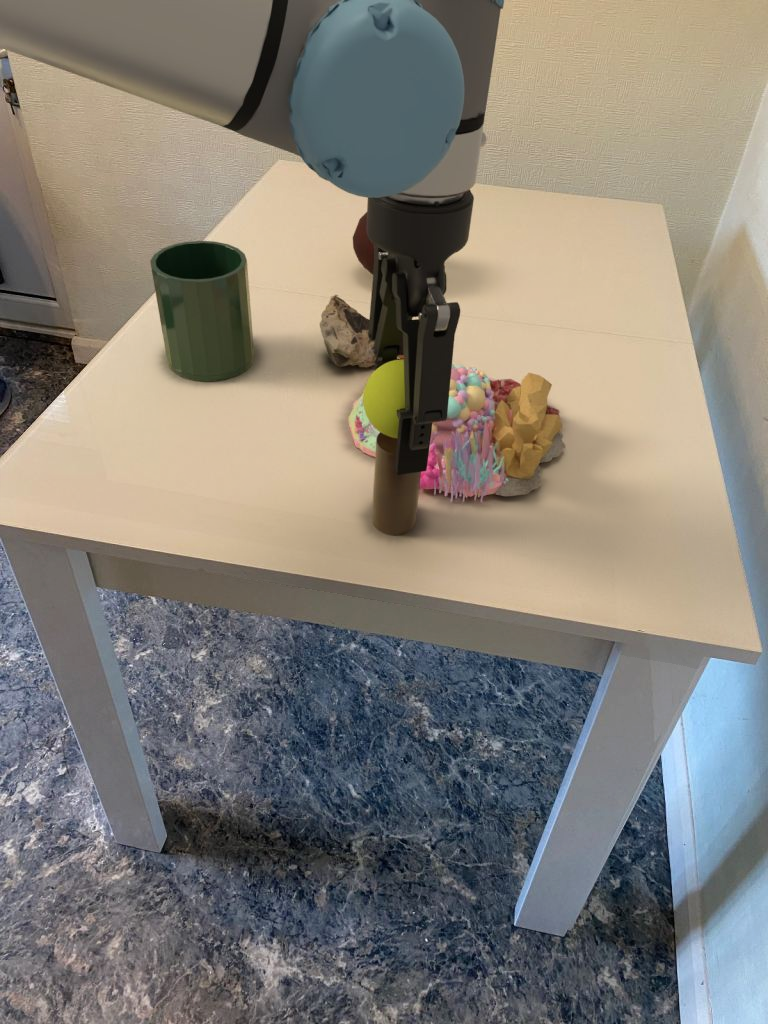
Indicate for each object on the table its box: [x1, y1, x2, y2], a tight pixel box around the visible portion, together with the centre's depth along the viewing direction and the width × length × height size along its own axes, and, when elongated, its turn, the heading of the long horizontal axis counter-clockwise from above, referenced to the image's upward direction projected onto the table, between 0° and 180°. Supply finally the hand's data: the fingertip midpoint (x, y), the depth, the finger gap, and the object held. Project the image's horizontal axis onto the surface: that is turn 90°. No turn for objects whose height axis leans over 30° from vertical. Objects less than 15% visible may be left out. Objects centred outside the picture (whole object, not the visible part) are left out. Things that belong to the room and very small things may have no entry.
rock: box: [319, 294, 378, 368], centre depth 94 cm, size 9×7×10 cm
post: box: [371, 432, 421, 536], centre depth 70 cm, size 4×4×10 cm
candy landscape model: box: [347, 355, 566, 503], centre depth 82 cm, size 25×24×9 cm
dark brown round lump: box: [352, 211, 374, 275], centre depth 110 cm, size 11×13×10 cm
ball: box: [363, 359, 434, 438], centre depth 64 cm, size 7×7×7 cm
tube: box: [149, 240, 255, 382], centre depth 89 cm, size 11×11×13 cm
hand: (398, 444), depth 67 cm, fingers closed on ball, 7 cm apart
